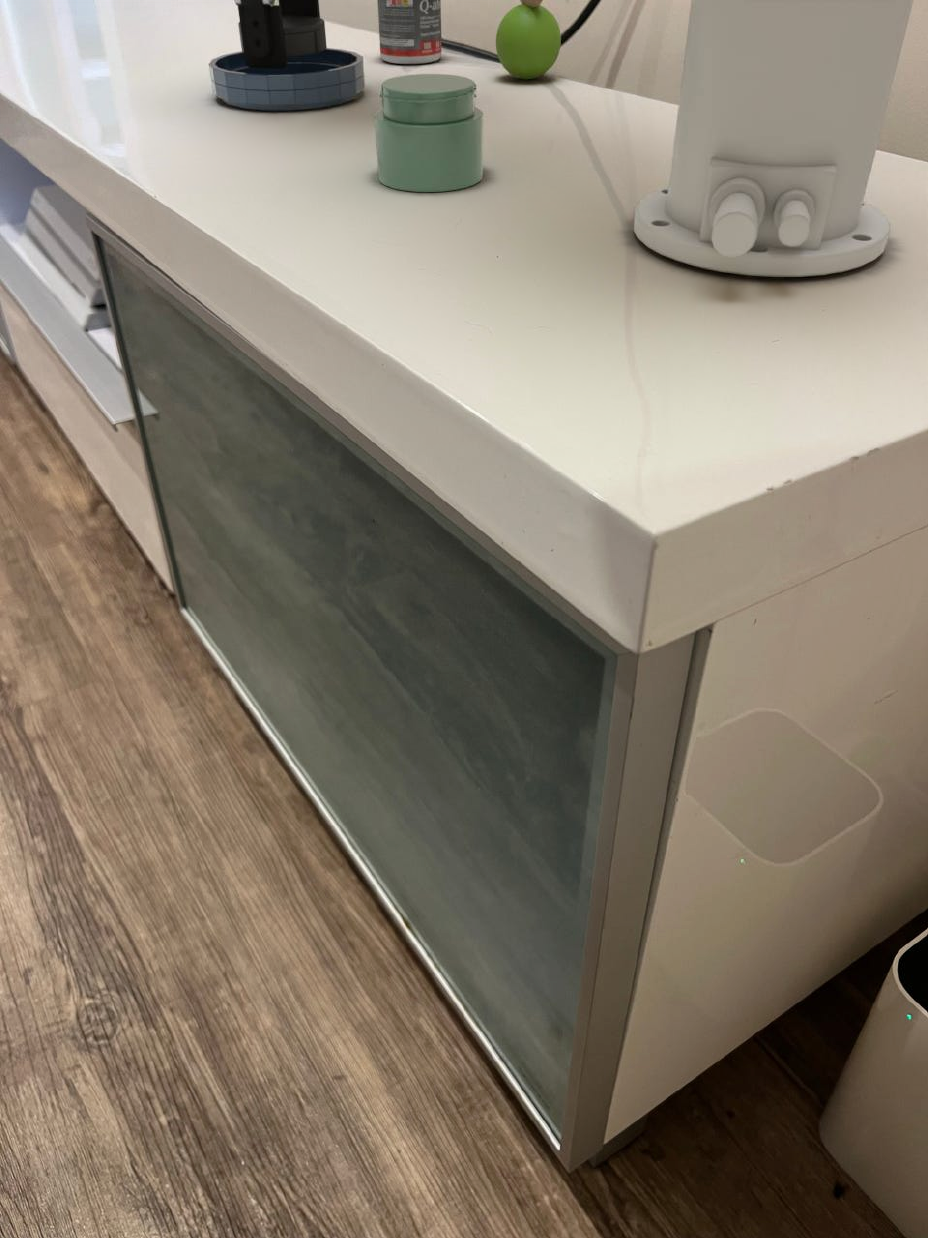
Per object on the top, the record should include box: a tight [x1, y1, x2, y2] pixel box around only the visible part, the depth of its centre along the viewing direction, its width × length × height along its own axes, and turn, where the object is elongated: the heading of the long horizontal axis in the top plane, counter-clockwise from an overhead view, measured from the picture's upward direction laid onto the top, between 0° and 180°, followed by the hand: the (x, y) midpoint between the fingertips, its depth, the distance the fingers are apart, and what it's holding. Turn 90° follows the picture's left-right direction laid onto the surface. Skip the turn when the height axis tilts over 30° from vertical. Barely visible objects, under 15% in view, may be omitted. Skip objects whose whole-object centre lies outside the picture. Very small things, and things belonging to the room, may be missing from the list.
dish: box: [208, 47, 366, 112], centre depth 75 cm, size 12×12×2 cm
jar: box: [374, 73, 484, 193], centre depth 56 cm, size 6×6×5 cm
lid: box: [237, 15, 328, 57], centre depth 74 cm, size 7×7×2 cm
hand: (285, 55), depth 74 cm, fingers closed on lid, 6 cm apart
